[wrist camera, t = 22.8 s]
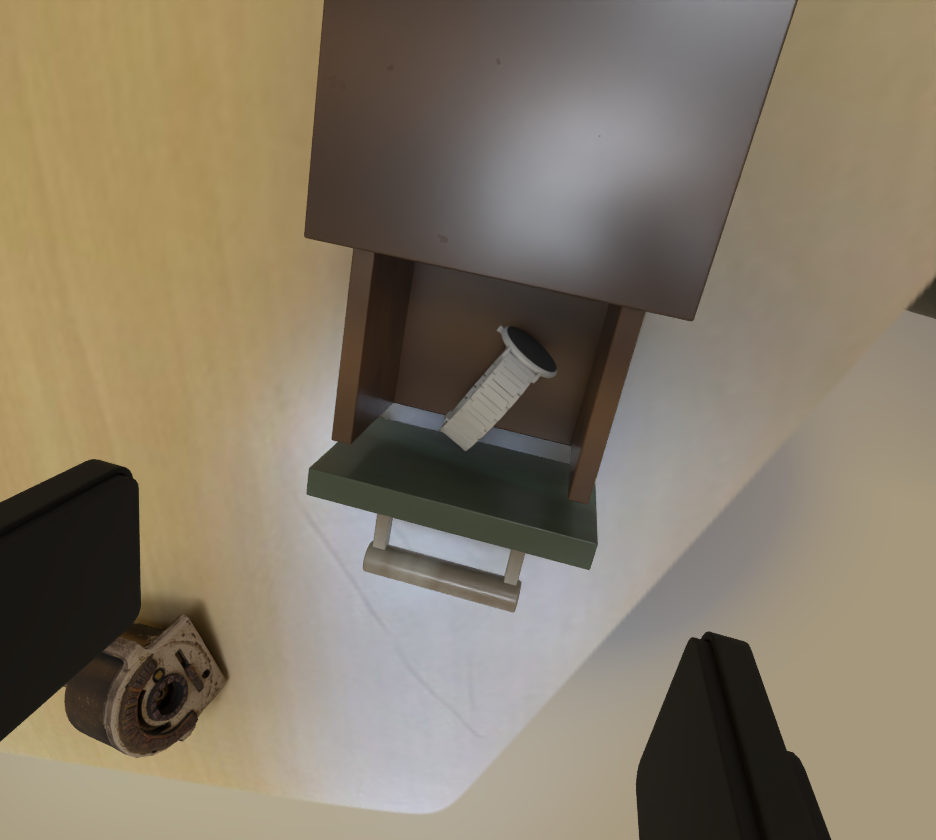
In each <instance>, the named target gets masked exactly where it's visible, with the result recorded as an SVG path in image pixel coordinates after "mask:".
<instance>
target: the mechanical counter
mask: <svg viewBox="0 0 936 840" xmlns="http://www.w3.org/2000/svg"><path fill="white" fill-rule="evenodd" d="M225 683H226V679H225V677H224V675H223V674H222V672H221V670H220V669H219V667H218V666H217V664H216V662H215V661H214V659H213V657H212V656H211V654H210V652H209V651H208V649H207V647H206V646H205V644H204V642H203V640H202V639H201V637H200V635H199V633H198V632H197V630H196V629H195V627H194V626H193V624H192V622H191V621H190V619H189V618H188V617H187V616H185V615H181V616H179V617H178V618H177V619H176V620H175V621H174V622H173V623H172V624H171V625H170V626H169V627H168V628H167V629H166V630H165V631H163V630H160V629H157V628H153V627H150V626H146V625H143V624H132V625H131V626H130V628H129V629H127V630H126V631H125V632H124V633H123V634H122V635H121V636H119V637H118V638H117V639H116V640H115V641H114V642H113V643H112V644H110V645H109V646H108V647H107V648H106V649H105V650H104V651H102V652H101V653H100V654H99V655H98V656H97V657H96V658H95V659H93V660H92V661H91V662H90V663H89V664H88V665H87V666H85V667H84V668H83V669H82V670H81V671H80V672H79V673H78V674H76V675H75V676H74V677H73V678H72V679H71V680H70V681H68V682H67V683H66V684H65V685H64V686H63V687H66V690H65V711H66V714H67V717H68V719H69V721H70V722H71V724H72V725H73V726H74V727H75V728H76V729H77V730H79V731H80V732H82V733H84V734H86V735H88V736H90V737H92V738H94V739H96V740H98V741H100V742H103V743H105V744H107V745H109V746H111V747H113V748H115V749H117V750H118V751H120V752H122V753H124V754H126V755H129V756H132V757H136V758H139V757H145V756H152V755H155V754H157V753H159V752H161V751H163V750H166V749H167V748H168V747H170V746H171V745H172V744H174V743H175V742H177V741H178V740H179V741H184V740H185V739H186V738H187V737H188V736H190V734H191V733H192V731H193V730H194V728H195V726H196V722H197V720H198V716H199V715H200V714H201V712H202V711H203V710H204V709H205V708H206V706H207V705H208V704H209V703H210V702H211V700H212V699H213V698H214V697H215V696H216V694H217V693H218V692H219V691H220V690H221V688H222V687H223V686H224V685H225Z"/></svg>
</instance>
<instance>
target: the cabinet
mask: <svg viewBox="0 0 936 840" xmlns="http://www.w3.org/2000/svg"><path fill="white" fill-rule="evenodd" d="M797 2H798V0H324V9H323V21H322V33H321V44H320V56H319V68H318V80H317V91H316V103H315V115H314V127H313V138H312V150H311V162H310V174H309V185H308V197H307V209H306V221H305V232H304V237H305V238H308V239H313V240H318V241H322V242H327V243H332V244H336V245H341V246H345V247H350V248H355V249H359V250H364V251H368V252H373V253H378V254H382V255H387V256H392V257H396V258H401V259H405V260H410V261H415V262H419V263H424V264H429V265H433V266H438V267H442V268H447V269H452V270H456V271H461V272H465V273H470V274H475V275H479V276H484V277H489V278H493V279H498V280H502V281H507V282H512V283H516V284H521V285H525V286H530V287H535V288H539V289H544V290H549V291H553V292H558V293H562V294H567V295H572V296H576V297H581V298H585V299H590V300H595V301H599V302H604V303H609V304H613V305H618V306H622V307H627V308H632V309H636V310H641V311H646V312H650V313H655V314H659V315H664V316H669V317H673V318H678V319H682V320H687V321H693V320H694V318H695V314H696V311H697V308H698V305H699V302H700V299H701V296H702V293H703V290H704V287H705V284H706V281H707V278H708V275H709V272H710V268H711V265H712V262H713V259H714V256H715V253H716V250H717V247H718V244H719V241H720V238H721V235H722V232H723V229H724V226H725V222H726V219H727V216H728V213H729V210H730V207H731V204H732V201H733V198H734V195H735V192H736V189H737V186H738V183H739V179H740V176H741V173H742V170H743V167H744V164H745V161H746V158H747V155H748V152H749V149H750V146H751V143H752V140H753V137H754V133H755V130H756V127H757V124H758V121H759V118H760V115H761V112H762V109H763V106H764V103H765V100H766V97H767V94H768V91H769V87H770V84H771V81H772V78H773V75H774V72H775V69H776V66H777V63H778V60H779V57H780V54H781V51H782V48H783V45H784V41H785V38H786V35H787V32H788V29H789V26H790V23H791V20H792V17H793V14H794V11H795V8H796V5H797Z"/></svg>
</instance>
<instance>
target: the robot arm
mask: <svg viewBox="0 0 936 840" xmlns="http://www.w3.org/2000/svg"><path fill="white" fill-rule="evenodd" d="M140 607H141V588H140V534H139V488H138V483H137V481H136V480H135V479H133V476H132V473H131V472H130V470H129V469H127V468H126V467H122V466H119V465H115V464H112V463H108V462H105V461H101V460H96V459H91V460H88V461H85V462H83V463H81V464H79V465H77V466H75V467H73V468H71V469H69V470H67V471H65V472H63V473H61V474H58V475H56V476H54V477H52V478H50V479H48V480H46V481H44V482H42V483H40V484H38V485H36V486H34V487H31V488H29V489H27V490H25V491H23V492H21V493H19V494H17V495H15V496H13V497H11V498H9V499H7V500H4V501H2V502H0V741H2V740H3V739H4V738H5V737H6V736H7V735H8V734H9V733H11V732H12V731H13V730H14V729H15V728H16V727H17V726H19V725H20V724H21V723H22V722H23V721H24V720H25V719H26V718H28V717H29V716H30V715H31V714H32V713H33V712H34V711H36V710H37V709H38V708H39V707H40V706H41V705H42V704H43V703H45V702H46V701H47V700H48V699H49V698H50V697H51V696H53V695H54V694H55V693H56V692H57V691H58V690H59V689H61V688H62V687H63V686H64V685H65V684H66V683H67V682H68V681H70V680H71V679H72V678H73V677H74V676H75V675H76V674H78V673H79V672H80V671H81V670H82V669H83V668H84V667H85V666H87V665H88V664H89V663H90V662H91V661H92V660H93V659H95V658H96V657H97V656H98V655H99V654H100V653H101V652H102V651H104V650H105V649H106V648H107V647H108V646H109V645H110V644H112V643H113V642H114V641H115V640H116V639H117V638H118V637H119V636H121V635H122V634H123V633H124V632H125V631H126V630H127V629H129V628H130V626H131V625H132V624H133V623H134V622H135V620H136V618H137V616H138V614H139V611H140ZM636 795H637V811H638V825H639V840H831V838H830V835H829V832H828V830H827V827H826V824H825V822H824V819H823V816H822V814H821V811H820V808H819V806H818V803H817V800H816V798H815V795H814V792H813V790H812V787H811V784H810V782H809V779H808V776H807V773H806V771H805V769H804V767H803V765H802V763H801V761H800V759H799V758H798V757H797V756H796V755H795V754H794V753H793V752H790V751H787V750H786V747H785V745H784V741H783V739H782V736H781V733H780V730H779V727H778V724H777V722H776V719H775V716H774V713H773V710H772V707H771V705H770V702H769V699H768V696H767V693H766V690H765V687H764V685H763V682H762V679H761V676H760V673H759V670H758V668H757V665H756V662H755V659H754V656H753V653H752V651H751V648H750V646H749V644H748V643H746V642H744V641H741V640H737V639H734V638H730V637H727V636H723V635H720V634H716V633H712V632H706V633H705V634H704V635H703V636H702V638H701V639H698V638H694V637H692V638H690V640H689V641H688V643H687V645H686V647H685V650H684V653H683V655H682V657H681V660H680V662H679V665H678V668H677V670H676V673H675V675H674V677H673V680H672V682H671V685H670V687H669V690H668V693H667V695H666V698H665V700H664V702H663V705H662V708H661V710H660V712H659V715H658V717H657V720H656V722H655V725H654V728H653V730H652V733H651V735H650V737H649V740H648V743H647V745H646V748H645V750H644V752H643V755H642V758H641V760H640V763H639V766H638V771H637V779H636Z"/></svg>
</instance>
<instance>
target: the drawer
mask: <svg viewBox="0 0 936 840" xmlns="http://www.w3.org/2000/svg"><path fill="white" fill-rule="evenodd" d="M644 315H645V311H641V310H636V309H632V308H627V307H622V306H618V305H613V304H609V303H604V302H599V301H595V300H590V299H585V298H581V297H576V296H572V295H567V294H562V293H558V292H553V291H549V290H544V289H539V288H535V287H530V286H525V285H521V284H516V283H512V282H507V281H502V280H498V279H493V278H489V277H484V276H479V275H475V274H470V273H465V272H461V271H456V270H452V269H447V268H442V267H438V266H433V265H429V264H424V263H419V262H415V261H410V260H405V259H401V258H396V257H392V256H387V255H382V254H378V253H373V252H368V251H364V250H359V249H355V248H353V257H352V266H351V274H350V283H349V292H348V301H347V309H346V318H345V327H344V336H343V344H342V353H341V362H340V371H339V379H338V388H337V397H336V406H335V414H334V423H333V432H332V440H334V441H338V442H337V443H336V444H335V445H334V446H333V447H332V448H331V449H330V450H329V451H327V452H326V453H325V454H324V455H323V456H322V457H321V458H320V459H319V460H318V461H317V462H315V463H314V464H313V465H312V466H311V467H310V468H309V474H308V484H307V495H310V496H314V497H318V498H321V499H325V500H329V501H332V502H336V503H340V504H344V505H347V506H351V507H355V508H359V509H362V510H366V511H370V512H374V513H377V520H376V527H375V533H374V540H373V541H372V542H371V543H370V544H369V546H368V548H367V551H366V554H365V557H364V562H363V570H364V571H366V572H369V573H373V574H376V575H380V576H384V577H387V578H391V579H394V580H398V581H402V582H405V583H409V584H412V585H416V586H419V587H423V588H427V589H430V590H434V591H437V592H441V593H445V594H448V595H452V596H455V597H459V598H462V599H466V600H470V601H473V602H477V603H480V604H484V605H488V606H491V607H495V608H498V609H502V610H506V611H509V612H515V610H516V606H517V602H518V598H519V594H520V589H521V581H520V580H518V578H519V574H520V571H521V567H522V563H523V559H524V555H525V553H527V554H531V555H535V556H539V557H542V558H546V559H550V560H553V561H557V562H561V563H565V564H568V565H572V566H576V567H580V568H583V569H587V570H590V568H591V564H592V561H593V558H594V555H595V552H596V548H597V545H598V538H597V511H596V485H595V481H596V477H597V474H598V471H599V467H600V464H601V460H602V457H603V454H604V450H605V447H606V443H607V440H608V437H609V433H610V430H611V426H612V423H613V420H614V416H615V413H616V410H617V406H618V403H619V399H620V396H621V393H622V389H623V386H624V382H625V379H626V376H627V372H628V369H629V365H630V362H631V359H632V355H633V352H634V349H635V345H636V342H637V338H638V335H639V332H640V328H641V325H642V321H643V318H644ZM500 326H502V327H503V328H505V327H507V326H510V327H511V326H512V327H516V328H519V329H521V330H523V331H524V332H526V333H527V334H529V335H530V336H531V337H533V338H534V339H535V340H536V341H537V342H539V343H540V344H541V345H542V346H543V347H544V348H545V349H546V351H547V352H548V353H549V354H550V356H551V357H552V358H553V360H554V362H555V364H556V367H557V374H556V375H555V376H554V377H552V378H544V377H541V376H540V377H539V379H538V380H537V381H536V382H535V383H532V382H531V383H530V385H529V386H528V387H527V389H526V390H525V391H524V392H523V394H522V395H521V396H520V397H519V399H518V400H517V401H516V402H515V403H514V404H513V405H512V407H511V408H510V409H508V411H507V412H506V413H505V414H504V415H503V417H502V418H501V419H500V420H499V421H497V423H496V424H495V425H494V426H493V427H496V428H500V429H504V430H508V431H512V432H516V433H520V434H524V435H528V436H533V437H537V438H541V439H545V440H549V441H553V442H557V443H561V444H565V445H569V446H571V450H570V464H566V463H562V462H558V461H554V460H550V459H546V458H542V457H538V456H534V455H530V454H526V453H522V452H518V451H514V450H510V449H506V448H502V447H498V446H494V445H490V444H486V443H482V442H478V441H477V442H476V443H475V444H474V445H473V446H472V447H470V448H469V449H468V450H467V451H465V450H463V449H462V448H461V447H460V446H459V445H458V444H456V443H455V442H454V441H453V440H452V439H451V438H449V437H448V436H447V435H446V434H445V433H441V432H437V431H433V430H429V429H425V428H421V427H417V426H413V425H409V424H405V423H401V422H397V421H393V420H389V419H385V418H381V417H379V416H380V415H381V414H382V413H383V412H384V411H385V410H386V409H387V408H388V407H389V406H390V405H391V404H393V402H394V403H398V404H402V405H406V406H410V407H414V408H418V409H422V410H426V411H430V412H434V413H439V414H443V415H446V414H447V413H448V412H450V411H453V410H454V409H455V408H456V406H457V405H458V404H459V402H460V401H461V400H462V399H463V398H464V397H465V395H466V394H467V393H468V392H469V391H470V389H471V388H472V387H473V386H474V385H475V383H476V382H477V381H478V380H479V379H480V378H481V376H482V375H484V376H485V377H486V375H485V374H484V373H485V372H486V371H487V369H488V368H489V367H490V366H491V365H492V364H494V361H495V360H496V359H497V358H498V357H499V356H500V355H501V354H502V353H503V351H504V350H505V348H506V346H505V344H504V342H503V340H502V335H501V333H500V332H501V331H500V332H498V331H497V329H498V328H499V327H500ZM489 374H490V373H489ZM490 375H491V374H490ZM483 381H484V380H483ZM484 382H485V381H484ZM479 385H480V384H479ZM480 386H481V385H480ZM474 387H475V388H476V386H474ZM483 388H484V387H483ZM465 398H466V397H465ZM466 399H467V398H466ZM506 408H507V407H506ZM393 518H396V519H400V520H404V521H407V522H411V523H415V524H419V525H422V526H426V527H430V528H434V529H437V530H441V531H445V532H449V533H452V534H456V535H460V536H464V537H467V538H471V539H475V540H479V541H482V542H486V543H490V544H494V545H497V546H501V547H505V548H509V549H511V552H510V556H509V560H508V564H507V568H506V572H505V576H501V575H498V574H494V573H490V572H487V571H483V570H479V569H476V568H472V567H468V566H465V565H461V564H457V563H454V562H450V561H446V560H443V559H439V558H435V557H432V556H428V555H424V554H421V553H417V552H413V551H410V550H406V549H402V548H399V547H395V546H391V545H388V544H389V539H390V533H391V526H392V520H393Z"/></svg>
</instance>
